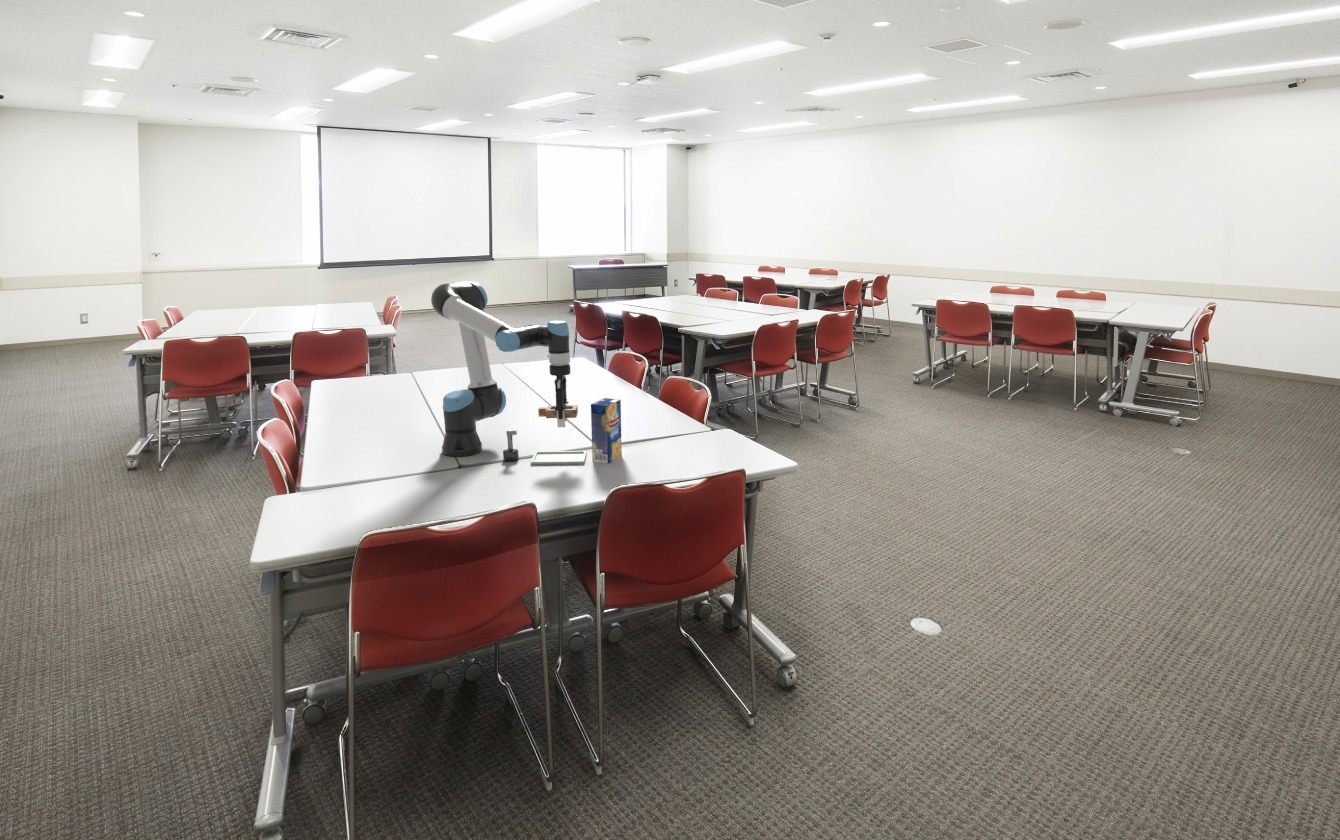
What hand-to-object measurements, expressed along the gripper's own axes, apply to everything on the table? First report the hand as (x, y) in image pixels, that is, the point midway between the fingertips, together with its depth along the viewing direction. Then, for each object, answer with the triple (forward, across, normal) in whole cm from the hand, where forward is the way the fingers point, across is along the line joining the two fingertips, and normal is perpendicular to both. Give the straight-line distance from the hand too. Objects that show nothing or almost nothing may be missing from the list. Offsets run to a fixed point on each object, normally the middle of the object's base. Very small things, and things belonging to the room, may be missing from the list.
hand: (562, 424), depth 278 cm
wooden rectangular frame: (-3, 0, -1) cm, 4 cm away
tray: (+14, 0, -2) cm, 14 cm away
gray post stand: (+14, 0, -20) cm, 24 cm away
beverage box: (+14, -1, +16) cm, 22 cm away
